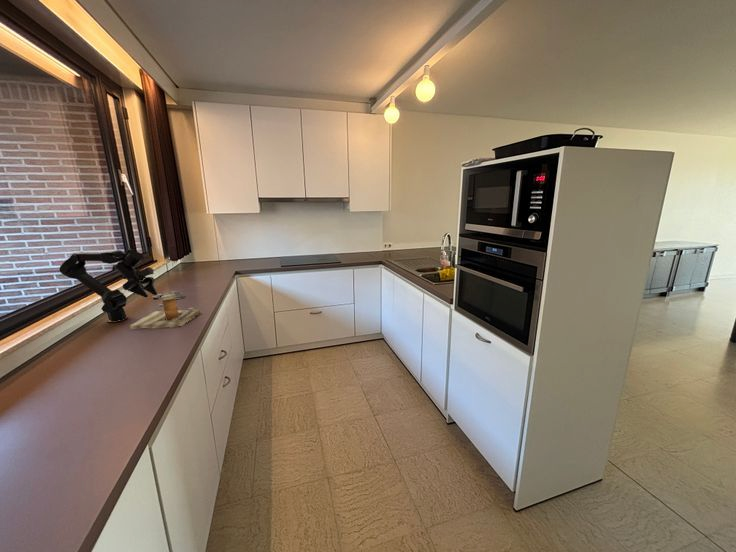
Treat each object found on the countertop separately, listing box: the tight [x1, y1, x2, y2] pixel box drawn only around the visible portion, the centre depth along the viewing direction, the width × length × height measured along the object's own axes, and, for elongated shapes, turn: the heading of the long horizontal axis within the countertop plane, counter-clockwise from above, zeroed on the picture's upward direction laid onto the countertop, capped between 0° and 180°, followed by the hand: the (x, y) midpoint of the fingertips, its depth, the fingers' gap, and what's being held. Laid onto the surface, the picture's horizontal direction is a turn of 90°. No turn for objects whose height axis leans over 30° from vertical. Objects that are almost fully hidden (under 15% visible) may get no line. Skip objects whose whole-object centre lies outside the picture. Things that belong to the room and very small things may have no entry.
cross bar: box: [172, 307, 195, 323], centre depth 154 cm, size 2×16×2 cm, turn 1°
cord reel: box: [160, 293, 179, 321], centre depth 153 cm, size 6×6×13 cm
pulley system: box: [151, 290, 185, 306], centre depth 188 cm, size 27×5×15 cm
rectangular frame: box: [129, 309, 201, 330], centre depth 154 cm, size 24×18×2 cm
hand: (151, 295), depth 153 cm, fingers open, 9 cm apart
